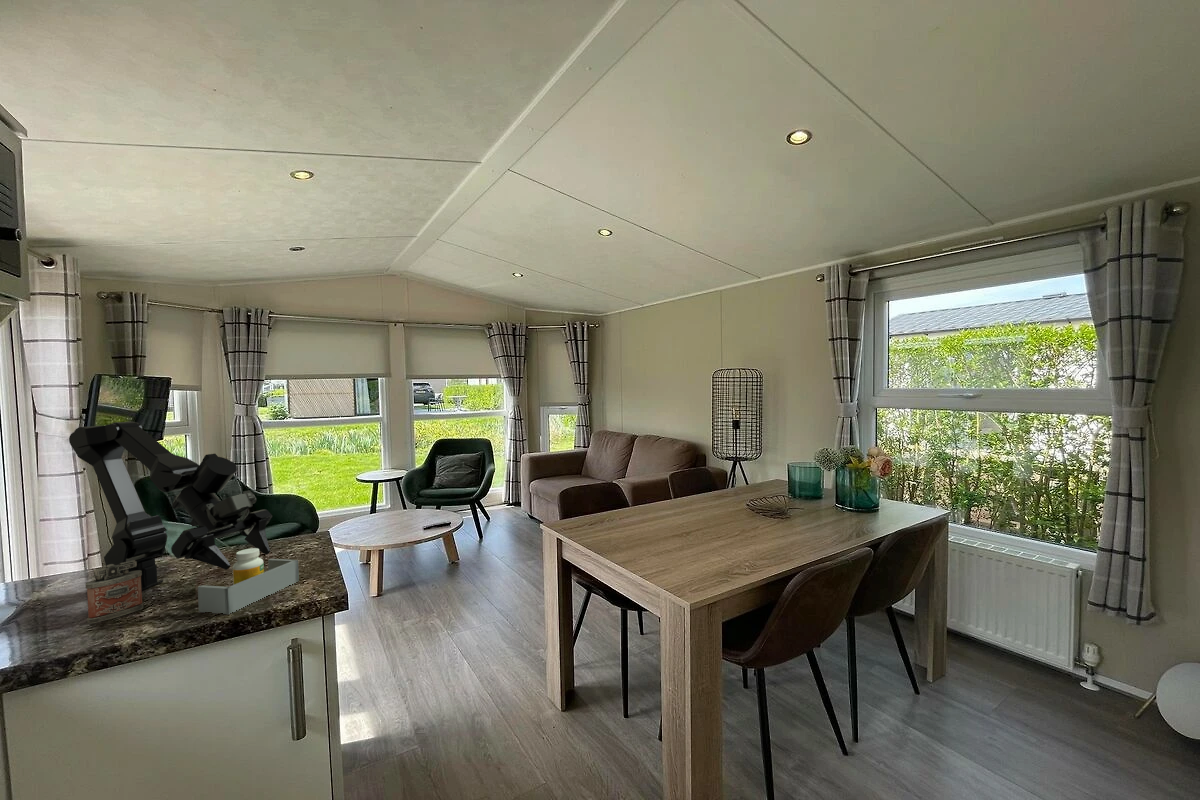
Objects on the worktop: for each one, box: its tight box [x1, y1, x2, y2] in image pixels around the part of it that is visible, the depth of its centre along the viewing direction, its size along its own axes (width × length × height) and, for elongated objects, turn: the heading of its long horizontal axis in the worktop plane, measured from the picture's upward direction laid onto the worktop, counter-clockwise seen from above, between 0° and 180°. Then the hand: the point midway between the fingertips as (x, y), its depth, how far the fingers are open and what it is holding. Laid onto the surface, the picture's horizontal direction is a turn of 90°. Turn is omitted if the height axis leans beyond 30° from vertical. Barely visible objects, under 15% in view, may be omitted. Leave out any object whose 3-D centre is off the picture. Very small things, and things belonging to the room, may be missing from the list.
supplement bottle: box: [232, 547, 265, 585], centre depth 105 cm, size 5×5×10 cm
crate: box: [197, 558, 300, 615], centre depth 105 cm, size 7×17×5 cm, turn 167°
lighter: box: [85, 560, 144, 624], centre depth 98 cm, size 8×3×10 cm, turn 148°
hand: (249, 560), depth 105 cm, fingers open, 9 cm apart
